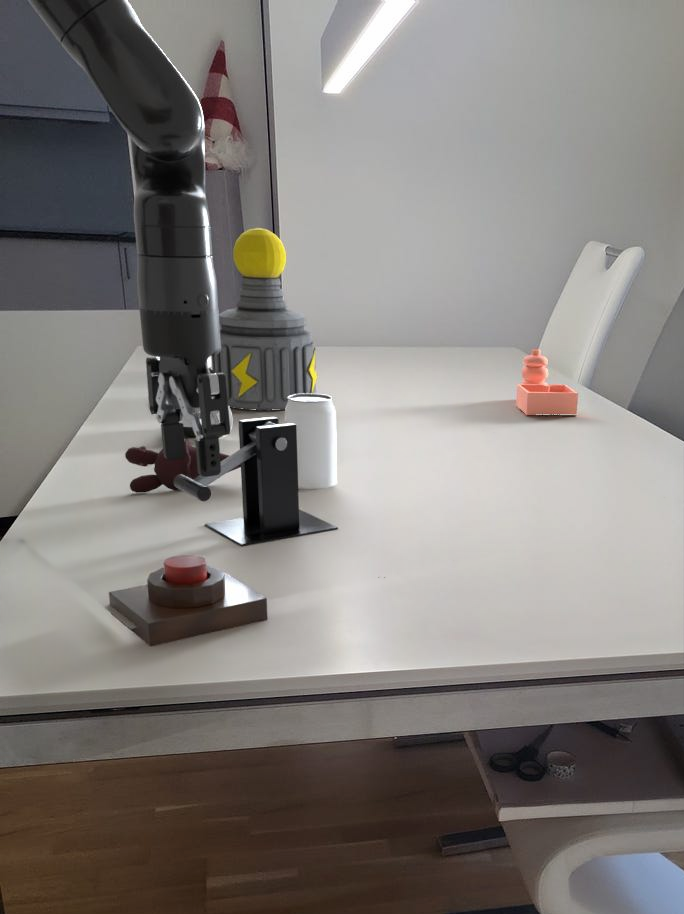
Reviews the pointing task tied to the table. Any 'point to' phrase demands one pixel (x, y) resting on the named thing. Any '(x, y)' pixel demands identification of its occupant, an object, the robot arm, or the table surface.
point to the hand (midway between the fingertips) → (191, 466)
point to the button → (185, 569)
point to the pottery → (543, 390)
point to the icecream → (164, 467)
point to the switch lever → (199, 483)
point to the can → (314, 439)
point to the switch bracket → (269, 488)
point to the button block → (188, 606)
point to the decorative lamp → (263, 332)
